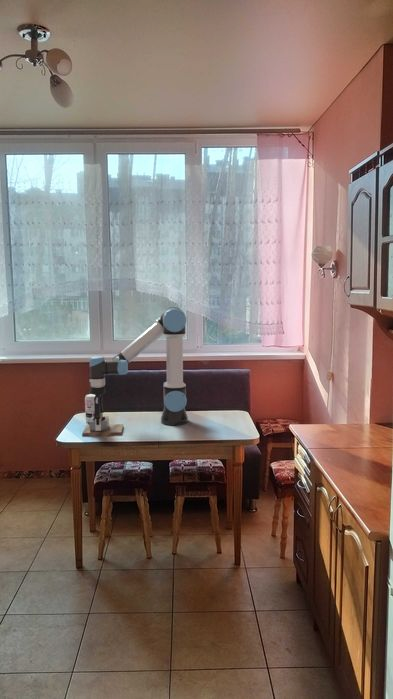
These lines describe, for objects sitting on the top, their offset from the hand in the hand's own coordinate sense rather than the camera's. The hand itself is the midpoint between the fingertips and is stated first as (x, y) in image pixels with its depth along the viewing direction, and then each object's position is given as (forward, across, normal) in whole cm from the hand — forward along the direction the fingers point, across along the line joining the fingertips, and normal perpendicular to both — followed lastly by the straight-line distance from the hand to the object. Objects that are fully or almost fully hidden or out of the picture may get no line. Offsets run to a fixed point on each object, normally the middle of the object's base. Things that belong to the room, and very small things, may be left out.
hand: (99, 427), depth 265 cm
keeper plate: (+2, 0, +2) cm, 3 cm away
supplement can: (+2, -20, -6) cm, 21 cm away
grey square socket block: (0, 0, 0) cm, 0 cm away
